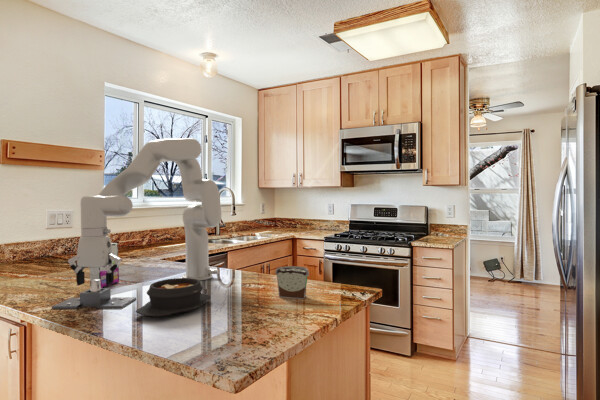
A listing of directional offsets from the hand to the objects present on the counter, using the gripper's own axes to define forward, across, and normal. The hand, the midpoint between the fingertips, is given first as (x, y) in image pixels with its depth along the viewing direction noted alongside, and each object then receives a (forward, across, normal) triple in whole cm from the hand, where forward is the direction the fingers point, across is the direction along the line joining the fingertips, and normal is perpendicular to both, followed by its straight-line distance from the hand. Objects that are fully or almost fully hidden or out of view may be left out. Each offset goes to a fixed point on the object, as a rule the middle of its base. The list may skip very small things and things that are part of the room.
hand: (95, 284), depth 126 cm
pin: (+7, 0, 0) cm, 7 cm away
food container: (+7, -66, -9) cm, 67 cm away
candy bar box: (+7, +11, -26) cm, 29 cm away
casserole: (+7, -29, +6) cm, 30 cm away
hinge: (+7, 0, 0) cm, 7 cm away
